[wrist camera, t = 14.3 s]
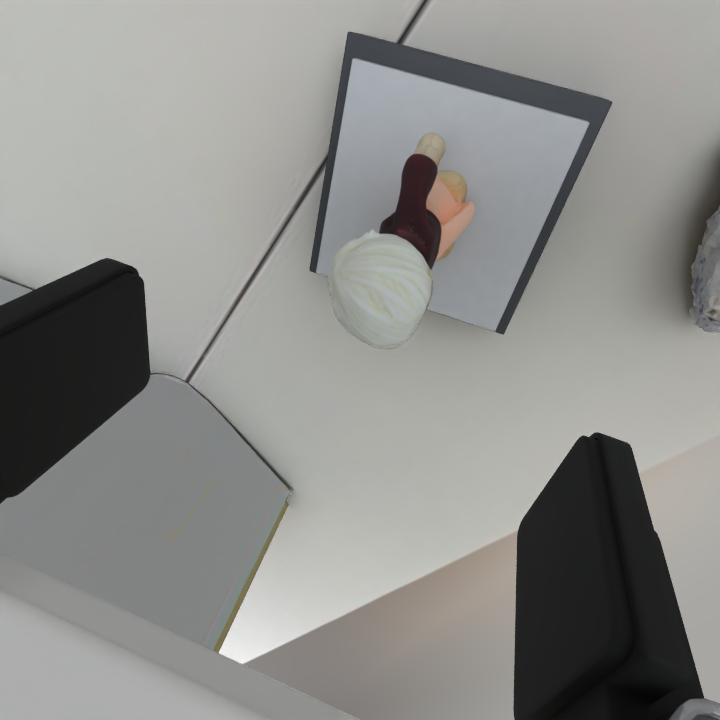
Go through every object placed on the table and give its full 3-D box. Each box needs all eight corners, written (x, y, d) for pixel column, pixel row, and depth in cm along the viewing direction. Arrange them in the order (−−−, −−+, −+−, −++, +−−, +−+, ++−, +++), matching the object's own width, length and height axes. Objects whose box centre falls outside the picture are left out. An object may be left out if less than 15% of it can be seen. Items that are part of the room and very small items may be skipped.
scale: (603, 98, 22) (615, 102, 19) (504, 315, 28) (503, 340, 26) (362, 34, 23) (343, 30, 20) (323, 257, 30) (305, 274, 27)
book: (-56, 288, 41) (-625, 454, 20) (-40, 216, 38) (-713, 322, 16) (279, 513, 45) (114, 858, 24) (321, 467, 42) (173, 823, 20)
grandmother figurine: (468, 279, 25) (433, 432, 14) (397, 273, 26) (317, 413, 15) (485, 117, 21) (455, 169, 10) (401, 117, 22) (296, 164, 11)
